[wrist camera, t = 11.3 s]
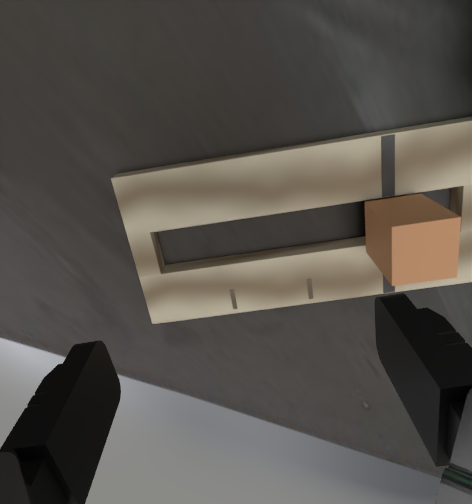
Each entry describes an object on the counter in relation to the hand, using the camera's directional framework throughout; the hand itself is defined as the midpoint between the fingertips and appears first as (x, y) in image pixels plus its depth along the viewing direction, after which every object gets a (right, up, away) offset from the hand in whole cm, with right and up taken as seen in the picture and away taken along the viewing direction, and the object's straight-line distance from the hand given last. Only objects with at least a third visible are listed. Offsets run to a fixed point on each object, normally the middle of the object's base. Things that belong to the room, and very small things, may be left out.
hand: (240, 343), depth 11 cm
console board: (+6, +5, +23) cm, 25 cm away
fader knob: (+13, +6, +23) cm, 27 cm away
